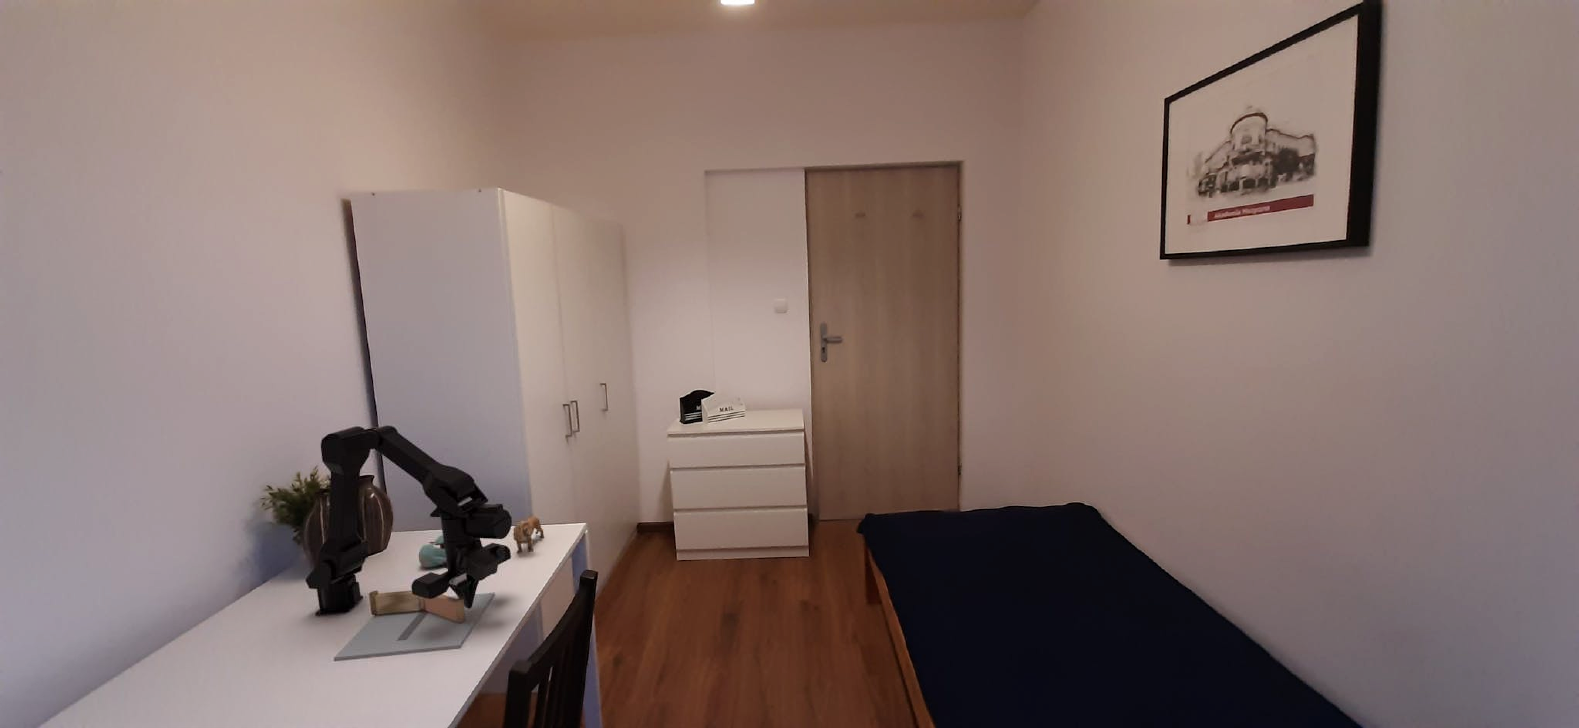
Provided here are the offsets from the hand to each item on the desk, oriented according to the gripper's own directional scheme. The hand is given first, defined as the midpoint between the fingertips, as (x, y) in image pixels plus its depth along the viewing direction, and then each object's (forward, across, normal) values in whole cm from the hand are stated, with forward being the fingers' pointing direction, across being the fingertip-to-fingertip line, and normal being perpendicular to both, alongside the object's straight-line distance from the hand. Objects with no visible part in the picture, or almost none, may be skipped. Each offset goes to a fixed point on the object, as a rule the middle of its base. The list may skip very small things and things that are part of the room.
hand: (468, 607), depth 130 cm
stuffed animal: (+2, +16, +29) cm, 33 cm away
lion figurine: (+2, +30, +15) cm, 33 cm away
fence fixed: (+1, -6, +15) cm, 16 cm away
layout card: (+2, -6, +6) cm, 9 cm away
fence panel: (+1, -3, +4) cm, 5 cm away
